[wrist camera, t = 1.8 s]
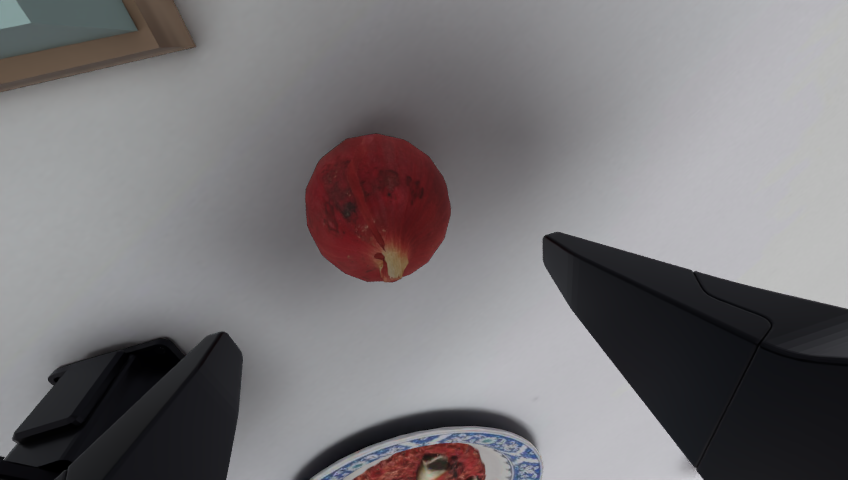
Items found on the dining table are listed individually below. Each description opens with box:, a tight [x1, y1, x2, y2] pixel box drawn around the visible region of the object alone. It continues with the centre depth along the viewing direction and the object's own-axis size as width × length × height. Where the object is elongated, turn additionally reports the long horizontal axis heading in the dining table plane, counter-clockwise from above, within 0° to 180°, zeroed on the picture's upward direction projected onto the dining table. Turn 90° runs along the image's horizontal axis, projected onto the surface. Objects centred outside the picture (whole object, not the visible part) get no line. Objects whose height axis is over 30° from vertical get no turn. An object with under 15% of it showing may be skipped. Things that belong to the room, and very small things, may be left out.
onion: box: [305, 134, 451, 282], centre depth 14 cm, size 6×6×8 cm
